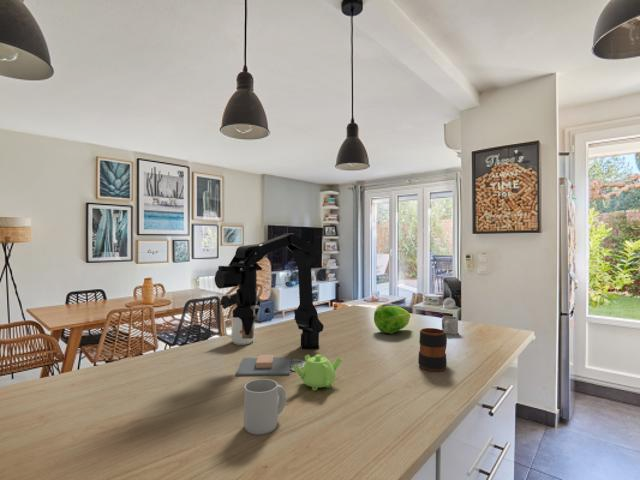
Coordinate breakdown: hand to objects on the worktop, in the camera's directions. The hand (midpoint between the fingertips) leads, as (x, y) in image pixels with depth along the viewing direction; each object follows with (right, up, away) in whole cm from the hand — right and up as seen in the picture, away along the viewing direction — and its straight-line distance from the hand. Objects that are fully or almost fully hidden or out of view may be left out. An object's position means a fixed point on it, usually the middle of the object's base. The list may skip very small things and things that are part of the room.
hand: (248, 333), depth 113 cm
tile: (+5, -9, +3) cm, 11 cm away
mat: (+6, -11, -1) cm, 12 cm away
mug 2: (+60, -11, +1) cm, 62 cm away
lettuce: (+56, -11, +44) cm, 72 cm away
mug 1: (-9, -11, +25) cm, 29 cm away
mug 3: (+80, -11, +41) cm, 90 cm away
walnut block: (0, -1, 0) cm, 1 cm away
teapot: (+22, -11, -14) cm, 29 cm away
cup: (+11, -11, -36) cm, 39 cm away
